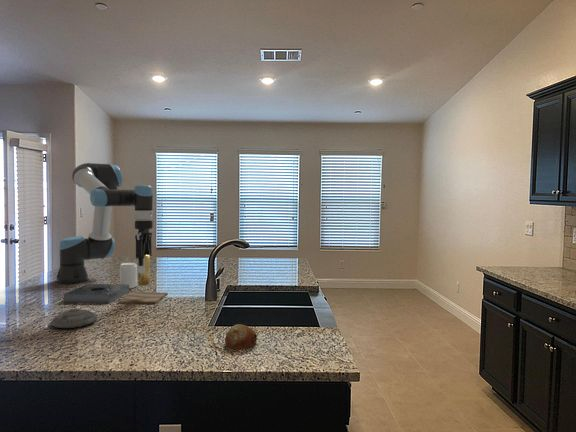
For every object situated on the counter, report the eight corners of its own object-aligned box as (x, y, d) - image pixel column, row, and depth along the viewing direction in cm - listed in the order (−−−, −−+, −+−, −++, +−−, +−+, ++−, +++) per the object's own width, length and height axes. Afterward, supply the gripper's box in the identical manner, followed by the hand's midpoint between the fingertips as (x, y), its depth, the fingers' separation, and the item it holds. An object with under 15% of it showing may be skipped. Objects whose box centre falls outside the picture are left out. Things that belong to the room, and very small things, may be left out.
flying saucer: (64, 334, 133) (64, 318, 133) (42, 326, 141) (41, 310, 141) (105, 322, 146) (105, 307, 146) (82, 315, 154) (82, 301, 154)
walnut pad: (133, 294, 187) (133, 291, 187) (167, 294, 186) (167, 292, 186) (118, 303, 171) (118, 301, 171) (155, 304, 170) (155, 301, 170)
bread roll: (231, 349, 132) (221, 327, 131) (259, 335, 132) (249, 314, 132) (229, 361, 122) (218, 338, 121) (260, 346, 122) (249, 323, 122)
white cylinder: (131, 289, 195) (130, 265, 194) (116, 288, 197) (116, 264, 196) (140, 286, 203) (140, 262, 202) (126, 285, 205) (126, 262, 204)
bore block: (87, 291, 191) (87, 283, 191) (128, 291, 191) (128, 284, 191) (63, 302, 171) (63, 294, 171) (109, 303, 171) (109, 295, 171)
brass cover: (140, 282, 181) (140, 254, 180) (151, 282, 180) (151, 254, 180) (136, 285, 176) (136, 255, 175) (147, 285, 176) (147, 256, 175)
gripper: (144, 221, 168) (144, 275, 169) (159, 218, 186) (159, 268, 187) (126, 221, 168) (127, 275, 169) (143, 218, 186) (143, 267, 187)
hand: (144, 271), depth 178 cm, fingers closed on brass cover, 5 cm apart
